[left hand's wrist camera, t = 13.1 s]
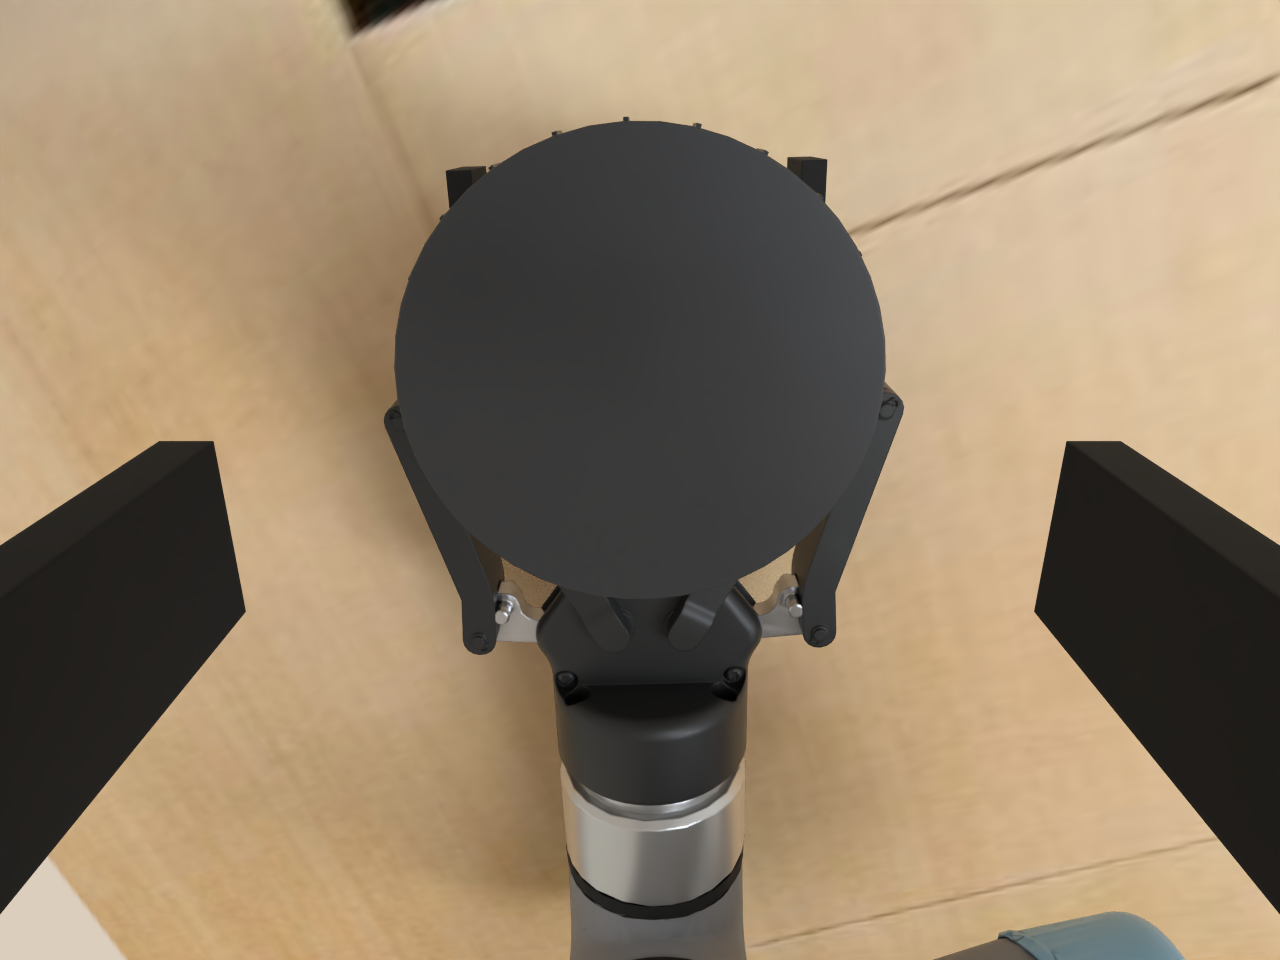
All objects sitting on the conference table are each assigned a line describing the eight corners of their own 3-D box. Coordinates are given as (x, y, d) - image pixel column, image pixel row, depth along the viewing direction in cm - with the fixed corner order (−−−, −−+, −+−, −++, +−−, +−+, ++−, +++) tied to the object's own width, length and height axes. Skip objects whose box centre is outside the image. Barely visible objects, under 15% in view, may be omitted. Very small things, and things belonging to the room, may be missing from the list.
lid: (888, 529, 23) (908, 561, 22) (477, 599, 24) (464, 635, 22) (844, 72, 19) (864, 67, 17) (351, 173, 20) (324, 178, 18)
